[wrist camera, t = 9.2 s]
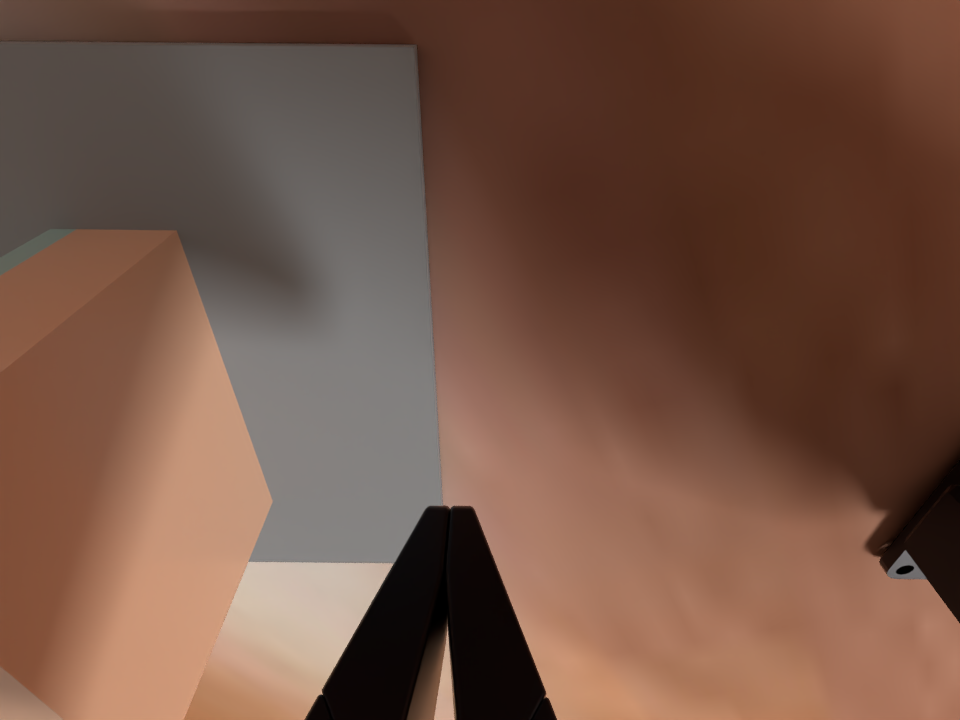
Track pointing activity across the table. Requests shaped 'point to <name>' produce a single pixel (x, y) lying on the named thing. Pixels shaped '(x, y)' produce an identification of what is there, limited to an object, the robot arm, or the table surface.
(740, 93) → the table surface
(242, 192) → the mat
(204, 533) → the tile
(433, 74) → the table surface
